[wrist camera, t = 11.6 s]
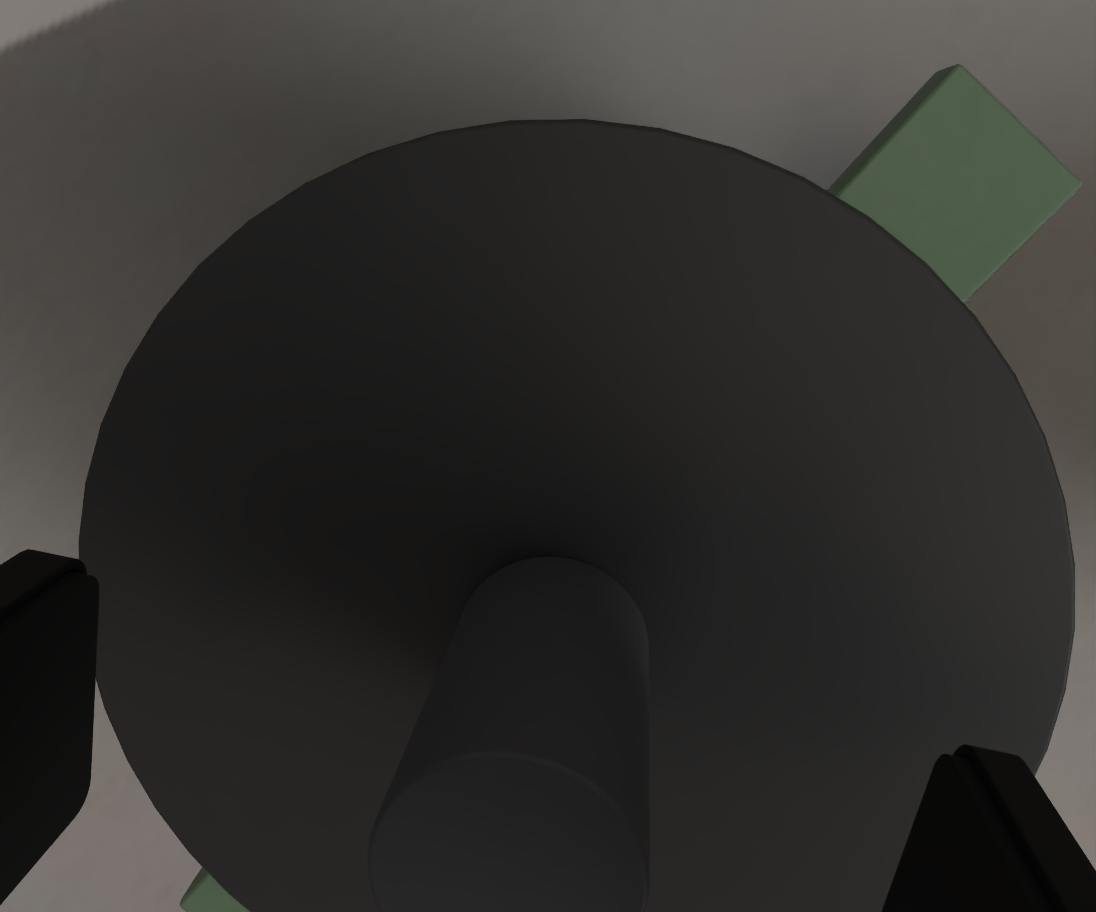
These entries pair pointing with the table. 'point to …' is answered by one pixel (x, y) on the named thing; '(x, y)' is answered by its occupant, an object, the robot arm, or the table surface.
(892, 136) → the cooker
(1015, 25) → the table surface
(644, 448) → the lid
